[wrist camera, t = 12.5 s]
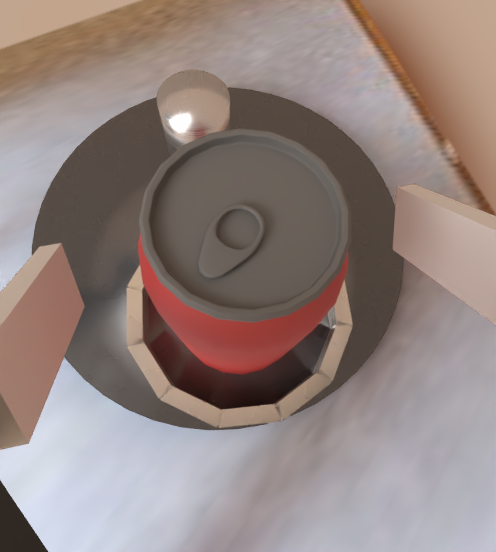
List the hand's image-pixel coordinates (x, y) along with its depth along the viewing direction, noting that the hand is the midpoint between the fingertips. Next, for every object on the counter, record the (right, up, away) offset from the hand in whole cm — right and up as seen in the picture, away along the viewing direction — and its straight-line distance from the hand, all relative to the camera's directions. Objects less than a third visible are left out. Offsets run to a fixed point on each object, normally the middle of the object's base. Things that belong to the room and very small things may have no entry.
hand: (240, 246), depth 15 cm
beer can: (0, -3, +6) cm, 7 cm away
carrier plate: (-1, +1, +9) cm, 9 cm away
